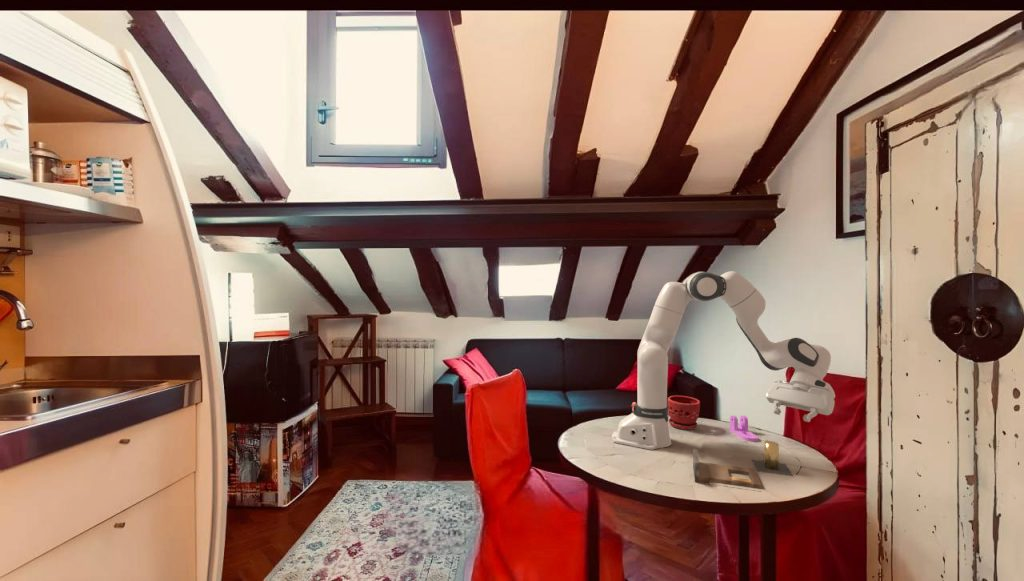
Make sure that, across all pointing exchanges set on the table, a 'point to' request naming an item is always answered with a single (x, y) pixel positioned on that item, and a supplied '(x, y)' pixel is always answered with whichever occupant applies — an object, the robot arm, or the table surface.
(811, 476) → the table surface
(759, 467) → the pad
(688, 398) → the plant pot
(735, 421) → the bracket
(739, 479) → the socket block
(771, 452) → the brass peg
